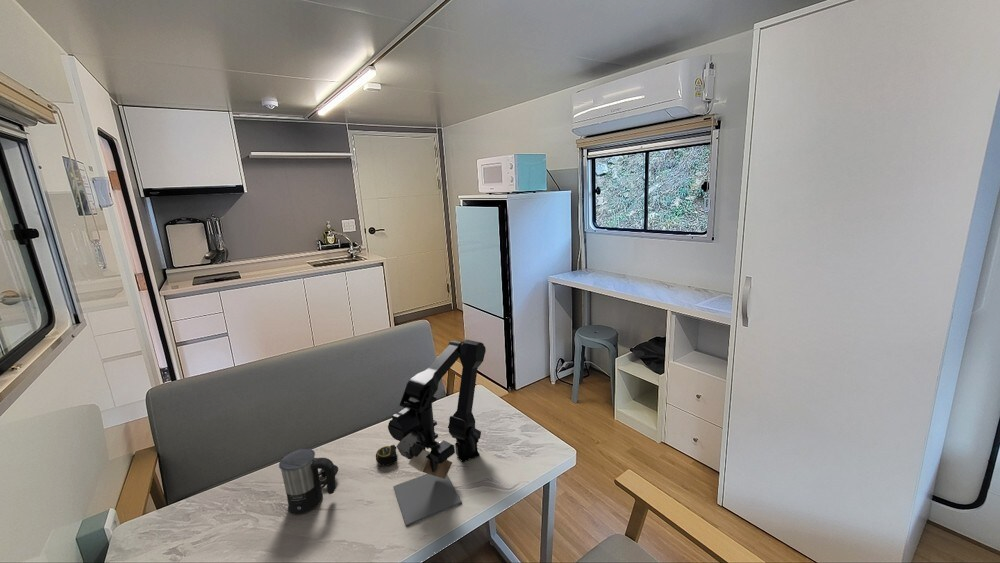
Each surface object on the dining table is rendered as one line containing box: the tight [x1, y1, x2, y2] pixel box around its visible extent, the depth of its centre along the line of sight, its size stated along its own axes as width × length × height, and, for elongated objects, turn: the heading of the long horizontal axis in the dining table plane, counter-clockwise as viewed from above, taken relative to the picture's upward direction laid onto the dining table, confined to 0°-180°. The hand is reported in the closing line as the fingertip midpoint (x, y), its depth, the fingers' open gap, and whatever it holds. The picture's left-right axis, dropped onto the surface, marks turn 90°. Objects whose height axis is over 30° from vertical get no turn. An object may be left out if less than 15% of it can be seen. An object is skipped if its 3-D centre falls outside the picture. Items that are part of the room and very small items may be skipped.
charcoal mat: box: [392, 473, 463, 527], centre depth 112 cm, size 16×16×1 cm
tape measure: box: [375, 444, 398, 467], centre depth 127 cm, size 7×7×4 cm
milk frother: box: [278, 448, 339, 515], centre depth 113 cm, size 14×16×15 cm
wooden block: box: [407, 449, 453, 479], centre depth 113 cm, size 5×5×12 cm
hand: (428, 467), depth 112 cm, fingers closed on wooden block, 5 cm apart
